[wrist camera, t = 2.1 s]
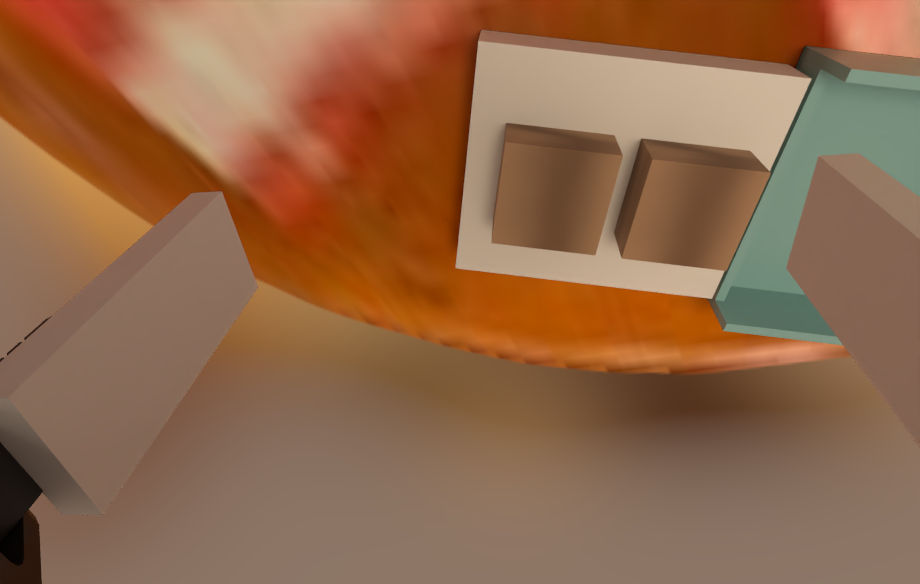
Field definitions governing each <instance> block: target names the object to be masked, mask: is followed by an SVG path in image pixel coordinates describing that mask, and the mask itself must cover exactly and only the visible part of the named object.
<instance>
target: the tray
mask: <svg viewBox="0 0 920 584" xmlns="http://www.w3.org/2000/svg"><path fill="white" fill-rule="evenodd" d="M795 69H796V70H798V71H800V72H801V73H803V74H805V75H806V76H808V77H810V78H812V79H811V81H810V84H809V86H808V88H807V90H806V92H805V95H804V97H803V99H802V101H801V103H800V106H799V108H798V110H797V112H796V114H795V117H794V119H793V121H792V123H791V125H790V128H789V130H788V132H787V134H786V137H785V139H784V141H783V143H782V145H781V148H780V150H779V152H778V154H777V156H776V159H775V161H774V163H773V165H772V167H771V170H770V172H771V174H770V176H769V179H768V181H767V183H766V185H765V187H764V190H763V192H762V194H761V196H760V198H759V201H758V203H757V205H756V207H755V209H754V212H753V214H752V216H751V218H750V220H749V223H748V225H747V227H746V229H745V231H744V234H743V236H742V238H741V240H740V242H739V244H738V247H737V249H736V251H735V253H734V255H733V258H732V260H731V262H730V264H729V266H728V269H727V271H724V273H723V276H722V278H721V280H720V282H719V284H718V287H717V289H716V291H715V293H714V295H713V298H712V299H709V298H708V300H709V302H710V304H711V306H712V308H713V310H714V313H715V315H716V317H717V319H718V321H719V323H720V325H721V327H722V329H723V331H729V332H738V333H746V334H754V335H763V336H771V337H779V338H788V339H796V340H804V341H812V342H821V343H829V344H837V345H843V344H842V343H841V341H840V340H839V339H838V337H837V336H836V335H835V333H834V332H833V331H832V329H831V328H830V327H829V325H828V324H827V323H826V321H825V320H824V319H823V317H822V316H821V315H820V313H819V312H818V311H817V309H816V308H815V307H814V305H813V304H812V303H811V301H810V300H809V299H808V297H807V296H806V294H805V293H804V292H803V290H802V289H801V288H800V286H799V285H798V284H797V282H796V281H795V280H794V278H793V277H792V276H791V274H790V273H789V272H788V270H787V269H786V267H787V263H788V260H789V256H790V253H791V249H792V246H793V242H794V239H795V235H796V232H797V228H798V225H799V222H800V218H801V215H802V211H803V208H804V204H805V201H806V197H807V194H808V190H809V187H810V184H811V180H812V177H813V173H814V170H815V166H816V163H817V159H818V156H822V155H838V154H855V153H859V154H861V155H862V156H863V157H865V158H866V159H868V160H869V161H870V162H872V163H873V164H874V165H876V166H877V167H879V168H880V169H881V170H883V171H884V172H886V173H887V174H888V175H890V176H891V177H893V178H894V179H895V180H897V181H898V182H899V183H901V184H902V185H904V186H905V187H906V188H908V189H909V190H911V191H912V192H913V193H915V194H916V195H918V196H919V197H920V59H918V58H909V57H900V56H891V55H883V54H874V53H865V52H856V51H847V50H838V49H829V48H820V47H811V46H805V47H804V50H803V52H802V54H801V57H800V59H799V61H798V64H797V66H796V68H795Z"/></svg>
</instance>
